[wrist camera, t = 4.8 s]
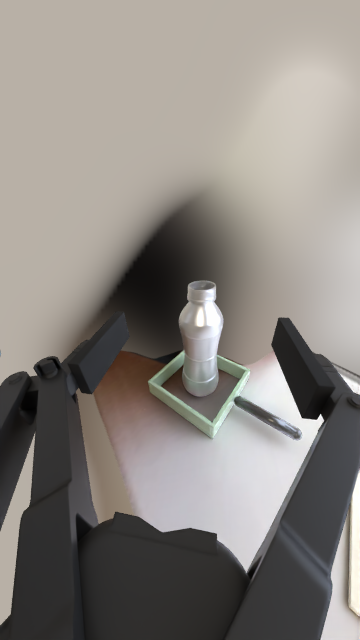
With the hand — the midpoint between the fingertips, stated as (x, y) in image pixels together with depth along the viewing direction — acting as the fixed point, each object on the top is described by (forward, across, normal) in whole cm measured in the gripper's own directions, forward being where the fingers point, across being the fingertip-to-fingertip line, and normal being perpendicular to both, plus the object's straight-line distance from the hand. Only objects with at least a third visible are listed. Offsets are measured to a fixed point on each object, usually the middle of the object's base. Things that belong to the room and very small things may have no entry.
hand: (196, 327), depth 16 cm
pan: (+7, +4, -20) cm, 22 cm away
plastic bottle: (+10, 0, -20) cm, 22 cm away
